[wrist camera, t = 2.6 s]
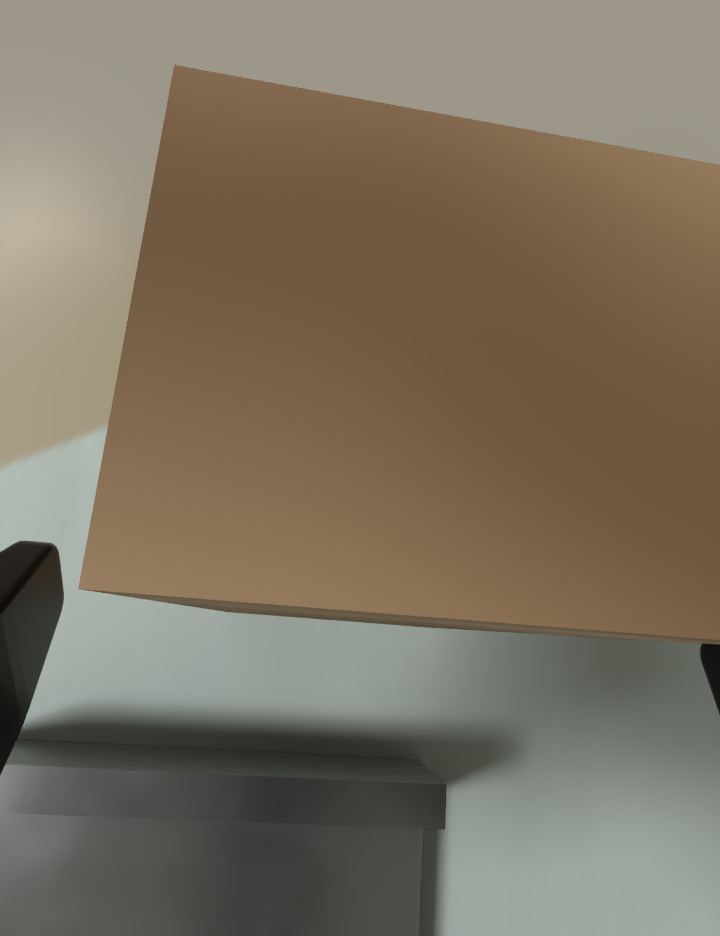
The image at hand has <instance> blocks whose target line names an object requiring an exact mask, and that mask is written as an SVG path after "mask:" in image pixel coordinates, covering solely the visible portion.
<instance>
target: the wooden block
mask: <svg viewBox="0 0 720 936" xmlns="http://www.w3.org/2000/svg"><path fill="white" fill-rule="evenodd" d="M78 589H82V590H88V591H95V592H102V593H108V594H115V595H121V596H128V597H134V598H141V599H147V600H154V601H160V602H167V603H173V604H180V605H186V606H193V607H199V608H206V609H212V610H219V611H225V612H236V613H249V614H262V615H275V616H288V617H301V618H313V619H326V620H339V621H352V622H365V623H378V624H391V625H404V626H417V627H431V628H448V629H465V630H482V631H499V632H516V633H533V634H550V635H567V636H584V637H601V638H618V639H635V640H652V641H669V642H686V643H703V644H720V165H718V164H712V163H707V162H701V161H696V160H691V159H685V158H679V157H674V156H669V155H663V154H657V153H652V152H647V151H641V150H636V149H630V148H625V147H619V146H614V145H608V144H603V143H598V142H592V141H587V140H581V139H576V138H570V137H564V136H559V135H554V134H548V133H543V132H537V131H532V130H527V129H521V128H515V127H510V126H504V125H499V124H494V123H488V122H483V121H477V120H471V119H466V118H461V117H455V116H450V115H444V114H438V113H434V112H428V111H423V110H416V109H412V108H406V107H400V106H395V105H390V104H384V103H379V102H373V101H368V100H362V99H357V98H352V97H346V96H341V95H335V94H330V93H324V92H319V91H313V90H308V89H302V88H297V87H291V86H285V85H280V84H275V83H269V82H264V81H258V80H253V79H247V78H242V77H236V76H231V75H225V74H220V73H215V72H209V71H204V70H198V69H193V68H187V67H182V66H176V65H175V66H174V70H173V75H172V81H171V86H170V92H169V97H168V103H167V108H166V114H165V120H164V125H163V130H162V136H161V141H160V146H159V152H158V157H157V163H156V169H155V174H154V179H153V185H152V190H151V196H150V201H149V207H148V212H147V217H146V223H145V229H144V234H143V239H142V245H141V250H140V256H139V261H138V266H137V272H136V278H135V283H134V288H133V294H132V299H131V305H130V311H129V316H128V321H127V326H126V332H125V338H124V343H123V349H122V354H121V360H120V365H119V370H118V376H117V381H116V386H115V392H114V398H113V403H112V409H111V414H110V419H109V425H108V430H107V436H106V441H105V446H104V452H103V457H102V463H101V468H100V474H99V479H98V485H97V490H96V496H95V501H94V507H93V512H92V517H91V523H90V528H89V534H88V539H87V545H86V550H85V556H84V561H83V567H82V572H81V577H80V583H79V588H78Z"/></svg>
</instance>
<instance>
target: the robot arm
mask: <svg viewBox="0 0 720 936" xmlns="http://www.w3.org/2000/svg"><path fill="white" fill-rule="evenodd" d="M63 600H64V591H63V583H62V574H61V566H60V558H59V552H58V549H57V547H56V546H55V545H54V544H52V543H46V542H34V541H19V542H17V543H15V544H13V545H11V546H9V547H8V548H6V549H4V550H3V551H1V552H0V775H1V773H2V771H3V768H4V766H5V764H6V762H7V760H8V758H9V756H10V753H11V751H12V749H13V747H14V745H15V742H16V740H17V738H18V736H19V733H20V731H21V729H22V726H23V724H24V721H25V718H26V715H27V712H28V710H29V707H30V704H31V701H32V698H33V695H34V692H35V689H36V686H37V683H38V680H39V677H40V674H41V671H42V668H43V665H44V662H45V659H46V656H47V653H48V650H49V647H50V644H51V641H52V638H53V635H54V632H55V629H56V626H57V623H58V620H59V617H60V614H61V611H62V606H63ZM700 656H701V661H702V665H703V667H704V670H705V673H706V676H707V679H708V682H709V685H710V688H711V691H712V693H713V696H714V699H715V702H716V705H717V708H718V711H719V714H720V644H703V643H702V644H701V648H700Z"/></svg>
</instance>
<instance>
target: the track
mask: <svg viewBox="0 0 720 936" xmlns="http://www.w3.org/2000/svg"><path fill="white" fill-rule="evenodd" d="M445 809H446V784H445V783H444V782H443V781H442V780H441V779H440V778H439V777H438V776H437V775H436V774H434V773H433V772H432V771H431V770H430V769H429V768H428V767H427V766H426V765H425V764H424V763H423V762H421V761H420V760H415V759H396V758H376V757H356V756H336V755H316V754H296V753H277V752H257V751H237V750H217V749H197V748H177V747H158V746H138V745H118V744H98V743H78V742H58V741H39V740H19V739H17V740H16V742H15V745H14V747H13V749H12V751H11V753H10V756H9V758H8V760H7V762H6V764H5V766H4V768H3V771H2V773H1V775H0V936H419V921H420V898H421V876H422V853H423V831H424V829H445Z"/></svg>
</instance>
